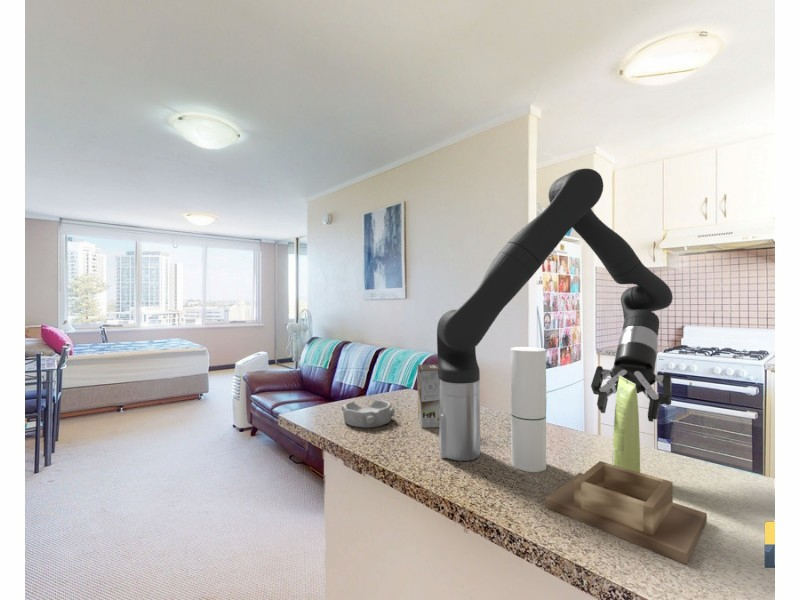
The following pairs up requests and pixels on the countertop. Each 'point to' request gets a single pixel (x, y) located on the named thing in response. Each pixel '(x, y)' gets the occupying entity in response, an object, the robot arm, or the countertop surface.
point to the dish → (368, 414)
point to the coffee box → (428, 395)
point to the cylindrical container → (528, 408)
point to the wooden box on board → (631, 509)
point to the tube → (626, 427)
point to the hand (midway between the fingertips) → (625, 415)
